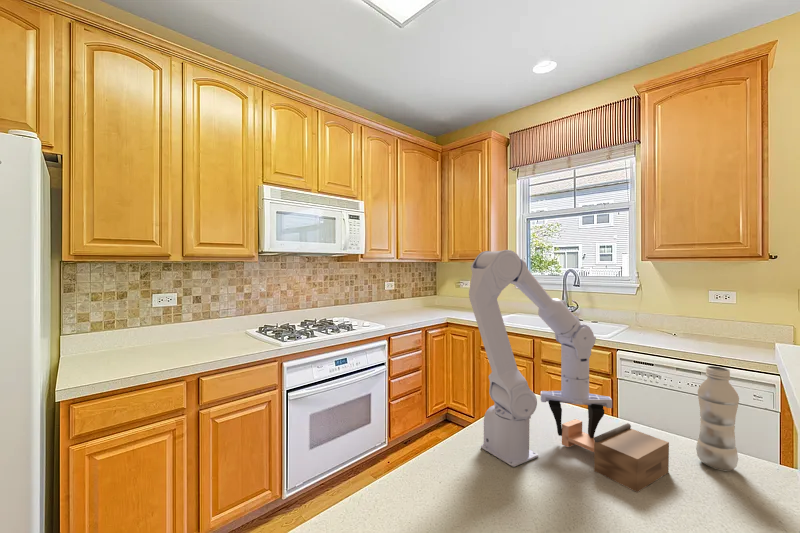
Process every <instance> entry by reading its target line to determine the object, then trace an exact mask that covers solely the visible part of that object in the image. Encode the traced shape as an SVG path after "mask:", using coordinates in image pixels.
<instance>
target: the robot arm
mask: <svg viewBox="0 0 800 533" xmlns="http://www.w3.org/2000/svg"><path fill="white" fill-rule="evenodd" d="M470 269H471V279H470V285H469V290H468V297H469V302H470V304H471V308H472V311H473V314H474V318H475V320H476V325H477V328H478V331H479V333H480V337H481V340H482V344H483V347H484V351H485V353H486V356H487V360H488V363H489V366H490V367H489V368H490V370H491V372H490V374H489V375H488V380H489V389H488V390H489V392H488V393H489V396H490V399H491V400H492V401H493V402H494V404H493V405H491V406H489V408H488V409H487V410H486V411H485V413H484V417H483V444H481V445H480V448H481V449H482V450H484V451H486V452H487V453H489V454H491V455H493V456H495V458H498V459H499V460H501V461H502V462H504V463H506V464H508V465H509V466H511V467H513V468H515V467H517V466H519V465H522V464H524V463H526V462H529V461H531V460H534V459H536V458H538V457H539V453H537V452H535V451H533V450H532V449H530V422H531V421H530V420H531V419H532V418H531V417H532V416H533V414H534V413H535V411H536V409H537V406H538V400H537V396H536V394H535V393H534V391H533V390H531V389H530V387H529V385H528V384H529V383H528V381H527V380H526V378H525V376H524V375H523V374H522V373H521V371H520V370H519V369H518V366H517V362H516V359H515V356H514V351H513V348H512V345H511V342H510V339H509V335H508V332H507V328H506V325H505V322H504V320H503V316H502V313H501V309H500V306H499V302H498V298H499V296H500V295H501V293H502V291H504V289H506V288H507V287H508V286H509V285H510V284H511V285H514V286H515V287H517V289H518V290H520V291H521V292H522V293H523V294H524V295H525V296H526V297H527V298H528V299H529V300H530V301H531V302H532V303H533V304H534V305H535V306H536V307H537V308H538V311H537V313H538V314H537V315H538V316H539V318H540V319H541V320H542V321H543V322H544V324H546V325H547V327H549V328H550V330H552V332H553V333H554V338H555V341H556V342H557V343H560V350H561V352H560V354H561V356H560V360H561V361H560V363H561V366H560V368H561V369H560V371H561V372H560V376H561V378H560V381H561V382H560V383H561V384H560V385H561V387H560V388H561V390H548V391H547V390H541V391H540V402H541V403H546V402H548V405H549V409H550V410H551V413H552V416H553V417H554V419H555V424H556V429H557V430H556V431H557V434H558V436H560V437H562V416H563V414H562V413H563V409H562V404H561V403H563V404H571V405H572V404H573V405H579V406H584V405H585V406H587V415H588V416H587V417H588V422H587V424H588V425H587V434H589V436H590V438H594V437H595V433H596V430H597V427H598V425H599V423H600V421H601V420H602V418H603V417H604V415H605V409H604V407H606V408H607V409H612V408H613V399H612V398H611V396H606V395H600V394H596V393H590V358H591V356H592V350H593V347H594V345H595V343H596V340H597V337H596V336H595V334H594V331H593V329H592V328H591V327H590V326H588V325H587V324H582V323H581V321H580V318H579V316H578V315H574V313H573V312H572V311H571V310H570V309H569V308H568V307H567V306H568V304H567V302H566V301H565V300H563V299H560V298H557V297H555V298H554V297H553V298H552V297H551V296H550V294H548V292H547V291H546V290H545V288H543V286H542V285H541V284H540V282H539V281H538V280H537V278H535V276H534V275H533V274H532V273H531V271H530V270H529V268H528V266H527V263H526V261H524V260H523V259H522V258H520V256H519V255H518V253H517V252H515V251H513V250H511V249H503V250H496V251H495V250H493V251H491V250H485V251H481V252H480V253H479V254H477V256H476V257H475V259H474V261H473V262H472V264H471V265H470Z"/></svg>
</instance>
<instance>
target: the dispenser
mask: <svg viewBox="0 0 800 533" xmlns="http://www.w3.org/2000/svg"><path fill="white" fill-rule="evenodd" d="M631 427H632V426H631V424H630V423H628V422H627V423H625V424H623V425H620V426H618V427H615V428H613V429H611V430H609V431H606V432H604V433H601V434H599V435H597V436H594V452H593V453H594V454H593V457H594V458H593V461H594V464H593V471H594V472H595V473H597V474H600V475H601V476H604V477H605V478H608V479H610V480H612V481H614V482H616V483H617V484H620V485H622V486H624V487H625V488H628V489H630V490H632V491H633V492H636V493H639V492H640V491H642V490H643V489H645V488H647V487H648V486H650V485H651V484H653V483H655V482H656V481H658V480H659V479H660V478H663V477H664V476H665V475H667V474H668V473H670V472H669V468H670V465H669V464H670V463H669V462H670V461H669V460H670V456H669V455H670V453H669V452H670V442H669V441H666V440H663V439H661V438H657V437H655V436H652V435H650V434H648V433H644V432H641V431H639V430H635V429H633V428H631Z"/></svg>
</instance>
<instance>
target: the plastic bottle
mask: <svg viewBox="0 0 800 533" xmlns="http://www.w3.org/2000/svg"><path fill="white" fill-rule="evenodd" d="M705 369H706V370H705V377H707V378H706V379H705V380H703V382H702V383H701V384H700V385H699V387H698V389H697V398H698V404H699V405H698V406H699V411H700V412H699V415H700V416H699V417H700V420H699V421H700V423H699V424H700V425H699V433H698V439H697V441H696V446H695V449H696V456H697V457H698V459H699V461H700V462H701V463H702V464H704V465H706V466H707V467H710V468H712V469H716V470H719V471H726V472H727V471H728V472H730V471H733V470H734V469H736V468H737V466H738V463H739V454H738V449H737V447H736V435H735V433H736V432H735V429H736V426H735V424H736V417H737V412H738V408H739V402H740V396H739V393H738V392H737V390H736V389H735V388H734V386H733V385H732V383H730V382H729V381H730V380H732V378H731V371H730V368H729V369H728V368H726V367H722V366H715V365H707V366H706V368H705Z"/></svg>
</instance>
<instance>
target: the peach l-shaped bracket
mask: <svg viewBox="0 0 800 533" xmlns="http://www.w3.org/2000/svg"><path fill="white" fill-rule="evenodd" d="M561 425H562V436H561V445H563V446H564V447H566V448H570V447H572V446H575V445H576V446H579V447H580V448H583V449H586V450H588V451H590V452H592V453H594V438H590V436H589V434H588V432H587V433H586V432H584V431H583V420H580V419H577V418H576V419H572V420H570V421H567V422H564V423H561Z"/></svg>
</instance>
